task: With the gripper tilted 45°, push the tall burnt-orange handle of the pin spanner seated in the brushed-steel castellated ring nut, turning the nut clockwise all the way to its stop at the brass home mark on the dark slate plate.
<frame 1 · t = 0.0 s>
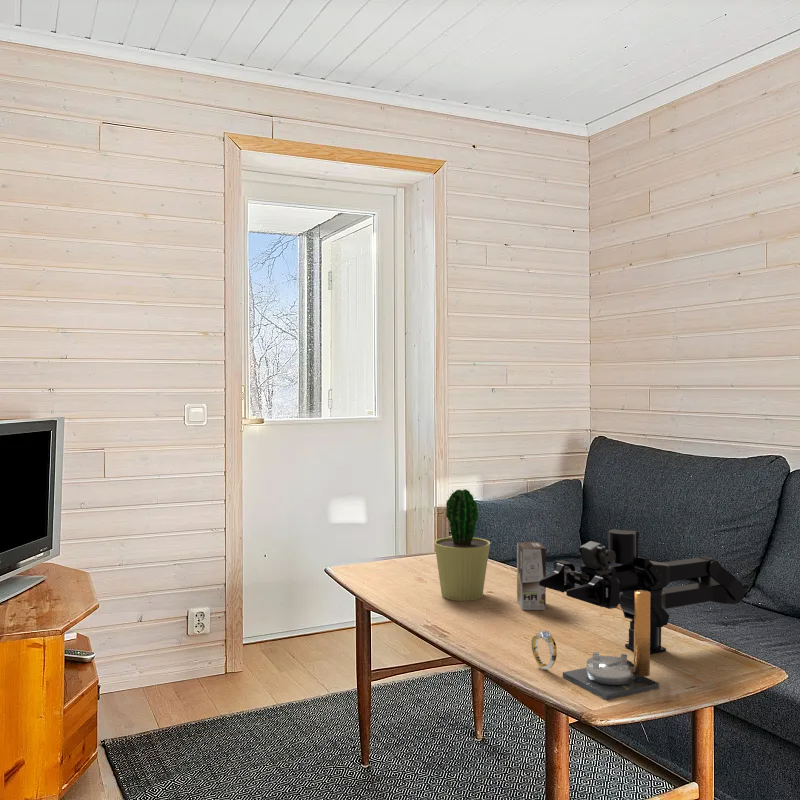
hand: (552, 588, 169), 17 cm above the table, tool horizontal, fingers open, 9 cm apart
nut plate: (609, 682, 161), on the table
ring: (543, 670, 168), on the table
potted cactus: (462, 595, 226), on the table
coffee box: (531, 606, 215), on the table
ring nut: (618, 633, 160), point 10 cm above the table, hinge at 0.0°
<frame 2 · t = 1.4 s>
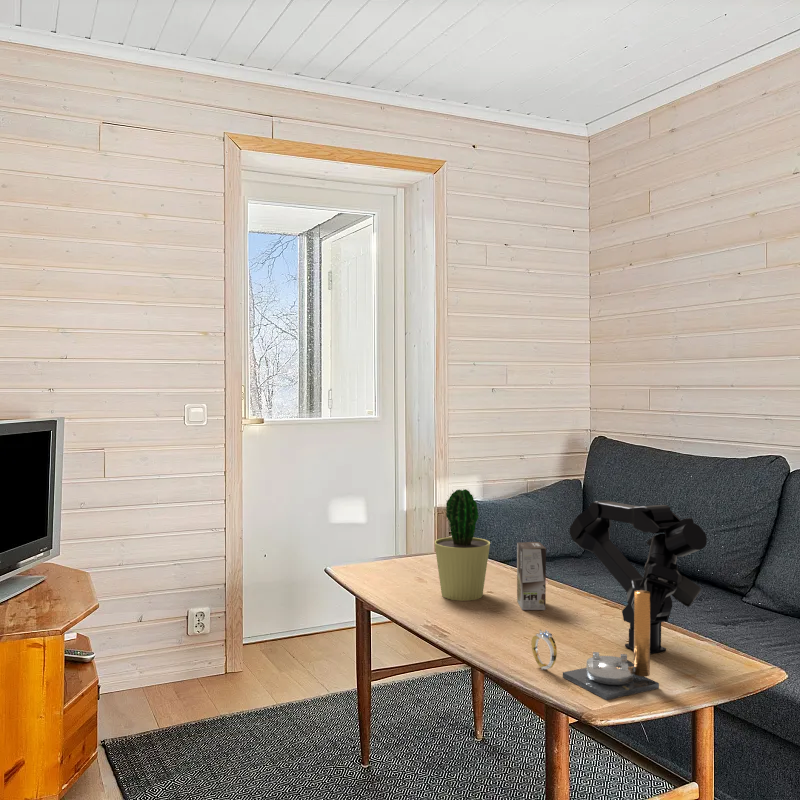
hand: (646, 628, 165), 9 cm above the table, tool tilted 40°, fingers open, 9 cm apart
nothing on the table moved.
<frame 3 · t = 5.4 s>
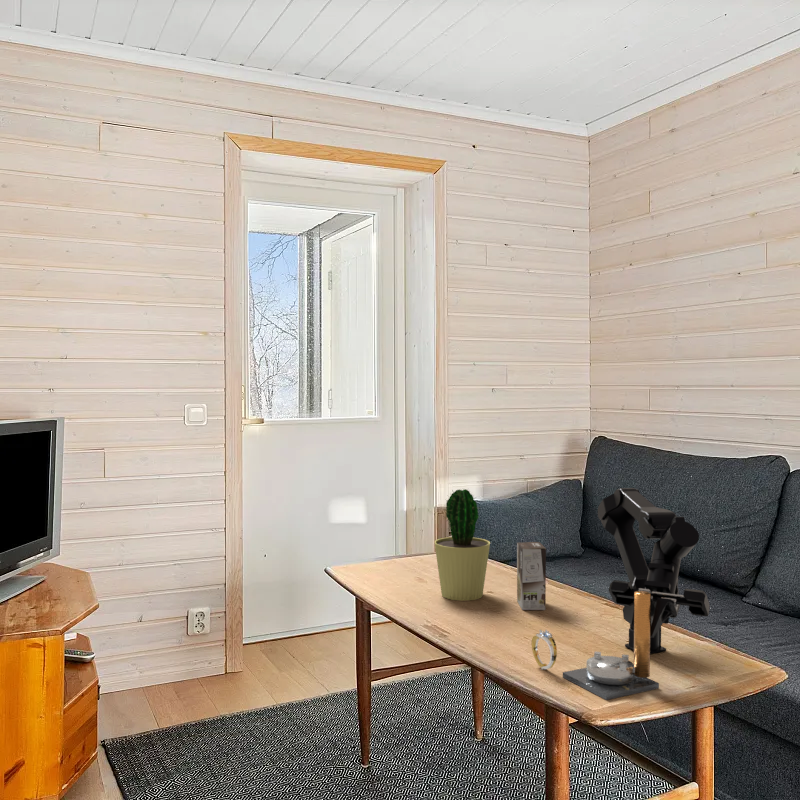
hand: (650, 636, 159), 10 cm above the table, tool tilted 40°, fingers closed
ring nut: (618, 634, 160), point 10 cm above the table, hinge at 6.0°, touching gripper
everything else where it was.
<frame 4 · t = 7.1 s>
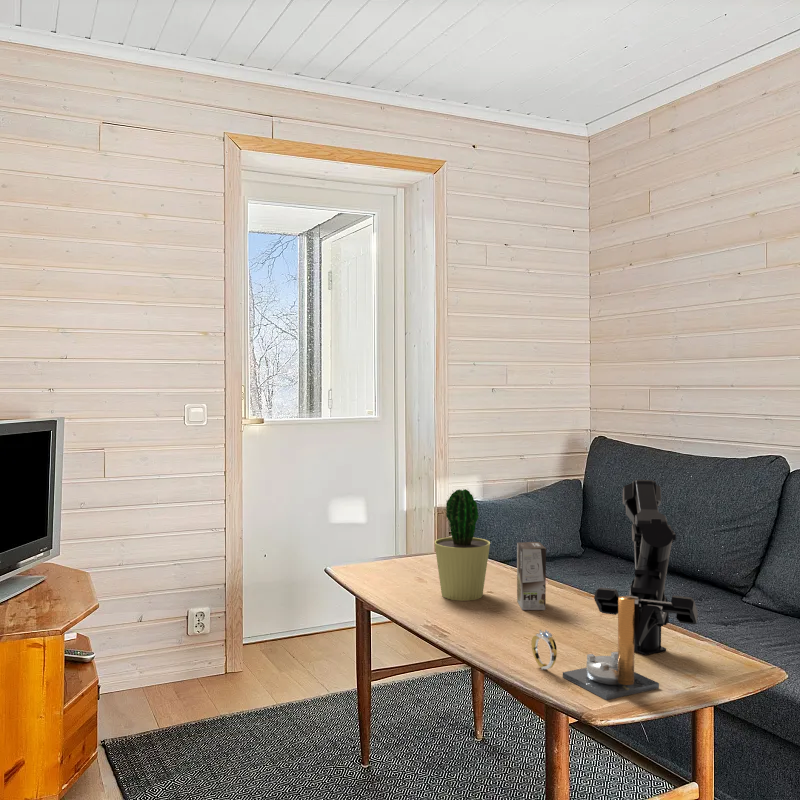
hand: (637, 645, 154), 10 cm above the table, tool tilted 45°, fingers closed
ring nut: (614, 635, 159), point 10 cm above the table, hinge at 62.0°, touching gripper
everything else where it was.
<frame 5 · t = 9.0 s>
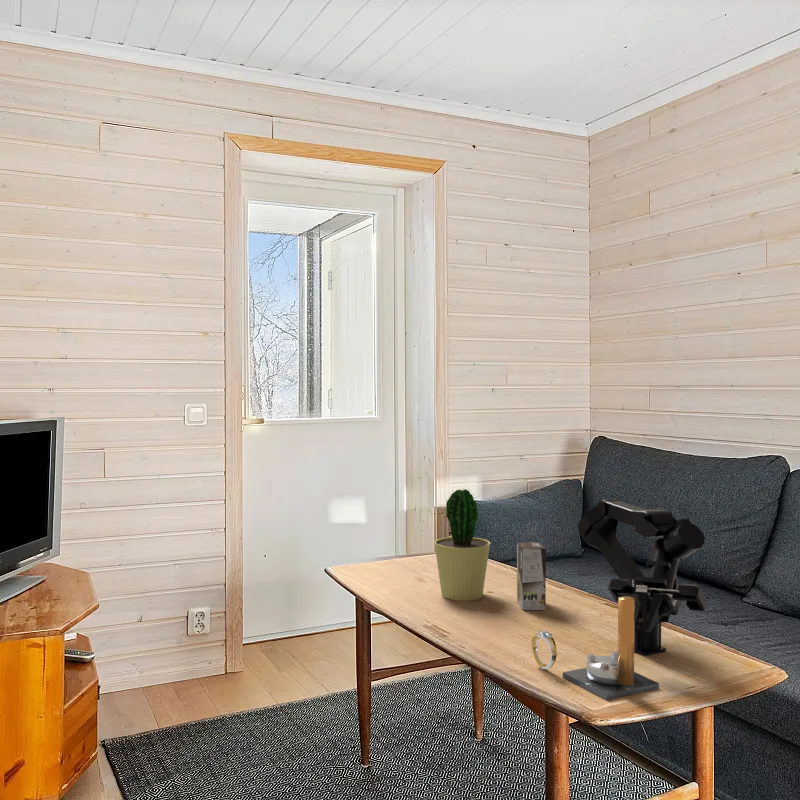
hand: (647, 630, 162), 10 cm above the table, tool tilted 45°, fingers closed
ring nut: (614, 635, 159), point 10 cm above the table, hinge at 62.0°
everything else where it was.
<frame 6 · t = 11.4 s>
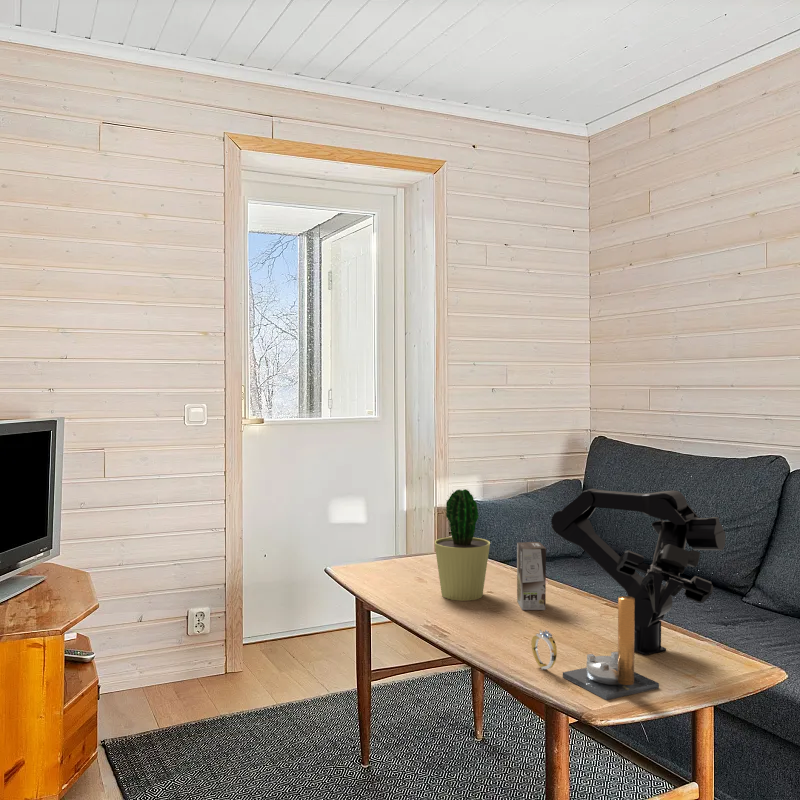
hand: (656, 612, 166), 12 cm above the table, tool tilted 45°, fingers closed
nothing on the table moved.
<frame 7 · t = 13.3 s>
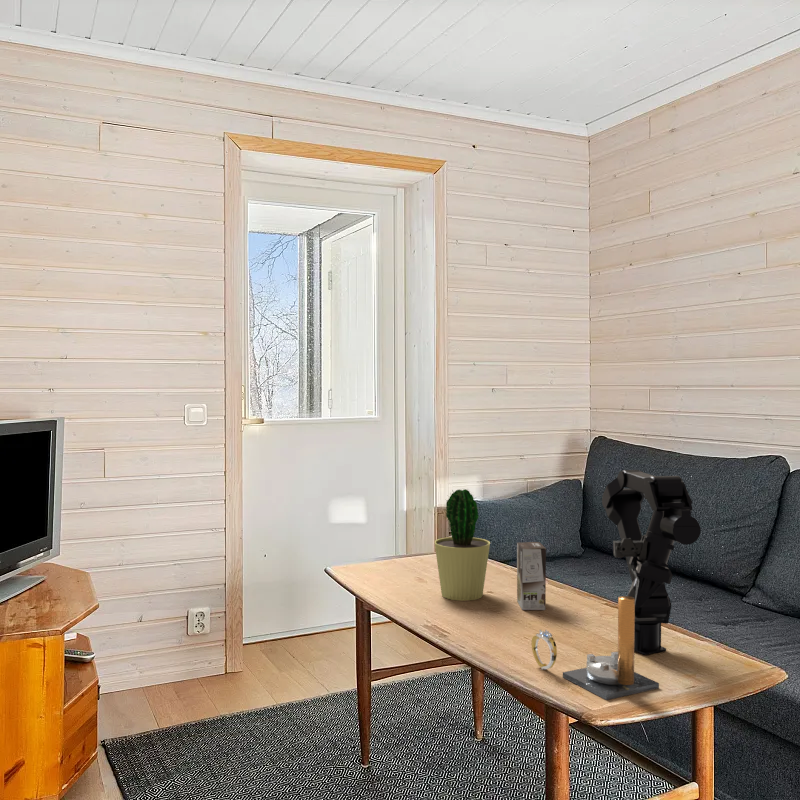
hand: (637, 606, 170), 12 cm above the table, tool tilted 20°, fingers closed
nothing on the table moved.
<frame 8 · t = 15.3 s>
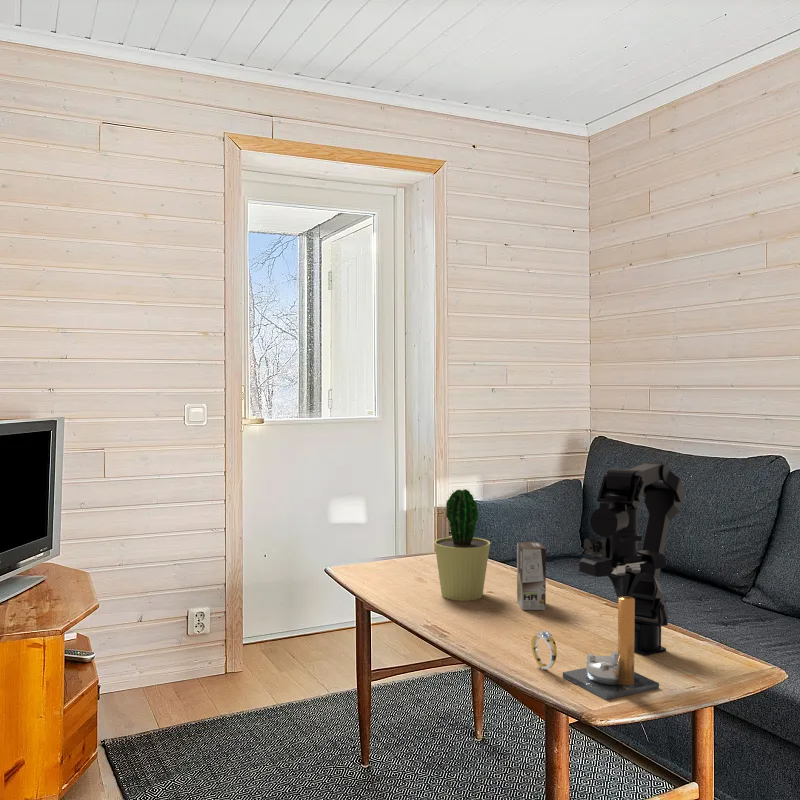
hand: (622, 604, 169), 13 cm above the table, tool pointing down, fingers closed
nothing on the table moved.
at the end: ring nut at +62° (first picture: +0°) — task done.
